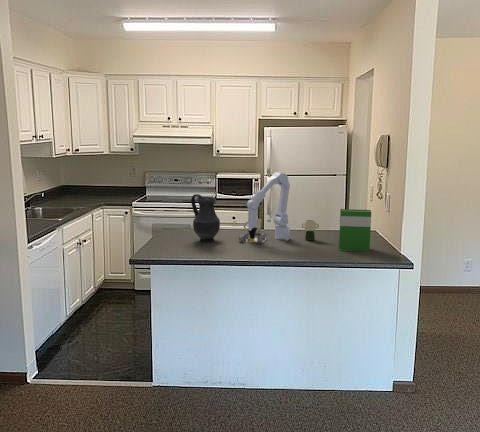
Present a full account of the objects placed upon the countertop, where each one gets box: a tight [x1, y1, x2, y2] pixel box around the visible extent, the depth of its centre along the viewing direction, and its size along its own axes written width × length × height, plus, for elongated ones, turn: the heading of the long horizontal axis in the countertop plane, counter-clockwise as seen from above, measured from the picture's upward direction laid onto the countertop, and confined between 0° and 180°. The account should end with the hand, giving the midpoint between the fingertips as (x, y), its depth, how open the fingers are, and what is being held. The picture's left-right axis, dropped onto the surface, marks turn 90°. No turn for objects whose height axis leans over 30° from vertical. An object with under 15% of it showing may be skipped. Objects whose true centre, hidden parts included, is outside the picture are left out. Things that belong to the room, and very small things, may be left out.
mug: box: [243, 218, 262, 235], centre depth 345 cm, size 8×13×10 cm, turn 81°
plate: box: [243, 237, 267, 244], centre depth 321 cm, size 15×16×1 cm
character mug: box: [301, 219, 320, 241], centre depth 326 cm, size 11×7×13 cm, turn 83°
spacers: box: [238, 232, 266, 245], centre depth 321 cm, size 15×14×4 cm
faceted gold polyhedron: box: [247, 237, 256, 244], centre depth 317 cm, size 4×5×2 cm
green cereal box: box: [338, 208, 372, 252], centre depth 300 cm, size 18×7×24 cm, turn 80°
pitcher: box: [190, 193, 221, 243], centre depth 322 cm, size 17×21×30 cm
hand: (252, 239), depth 321 cm, fingers closed
